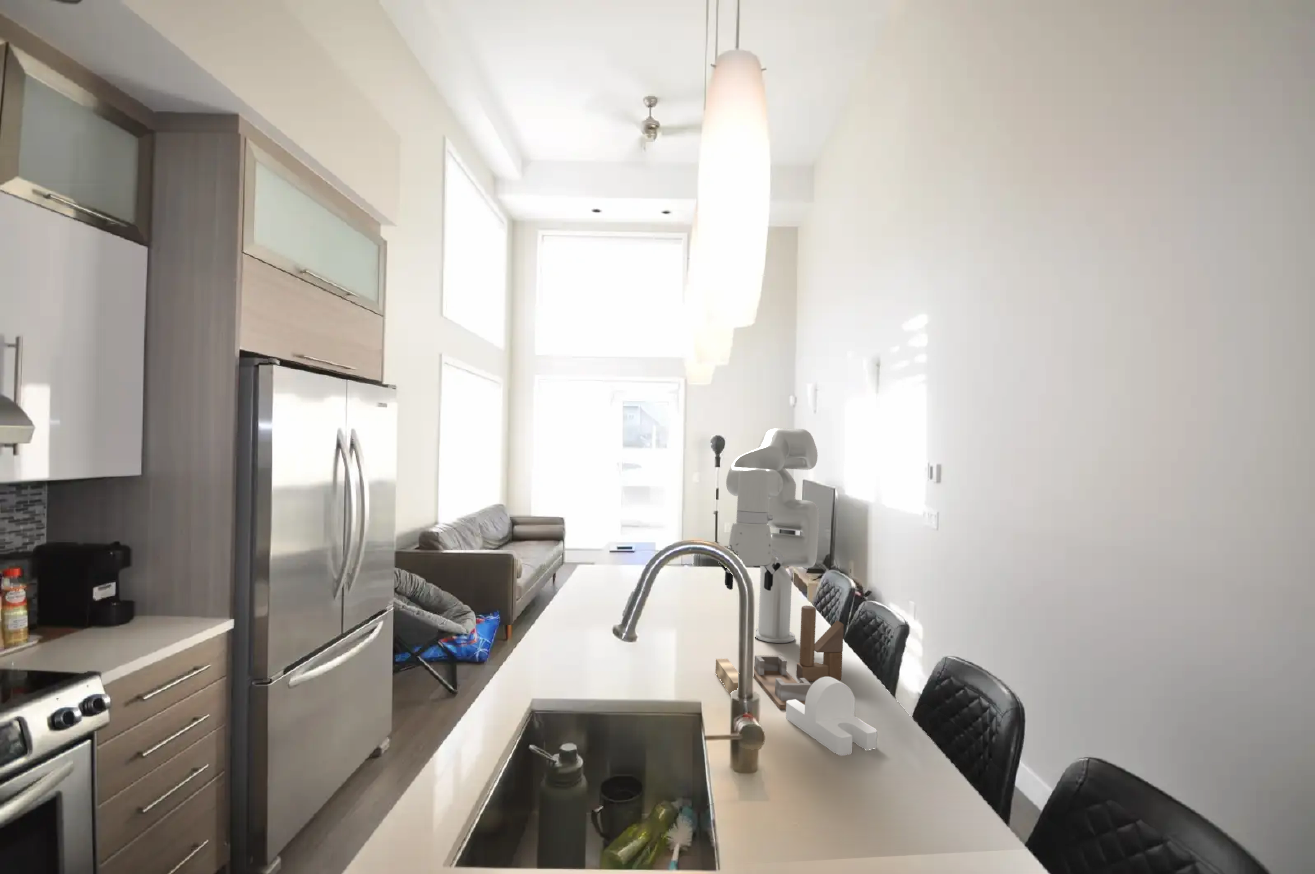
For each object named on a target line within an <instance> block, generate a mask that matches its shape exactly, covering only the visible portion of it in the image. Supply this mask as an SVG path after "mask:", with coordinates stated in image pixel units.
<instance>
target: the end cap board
mask: <svg viewBox="0 0 1315 874" xmlns="http://www.w3.org/2000/svg"><path fill="white" fill-rule="evenodd" d="M787 665H788V660H786V658H785V657H784V656H782V655H781V654H778V655H776V654H775V655H773V654H772V655H771V654H770V655H769V654H766V655H765V654H764V655H761V654H760V655H759V654H758V655H757V654H755V655H754V665H753V666H754V677H753V679H754V680H755V681H756V682H757V684H758V685H759V686H760V688H762V689H764V690H763V691H764V692H765V694H766V695H767V696H768V697H769V698H770V699H771V701H772V702H773V703H774V705H775V706H776V707H777V708H778V709H779V710H786V701H788V700H794V699H796V700H798V701H799V702H801V703H802V704H804V705H805V700H806V695H807V692H808V690H809V688H810V687H811V685H812V683H810V681H807V680H806V679H805V678H800V679H799V681H797V680H796V679H795V678H794V677H793V676H792V675H791V674H790V673H789V672H788V671H787V670H788V669H787V668H788V666H787Z"/></svg>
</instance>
